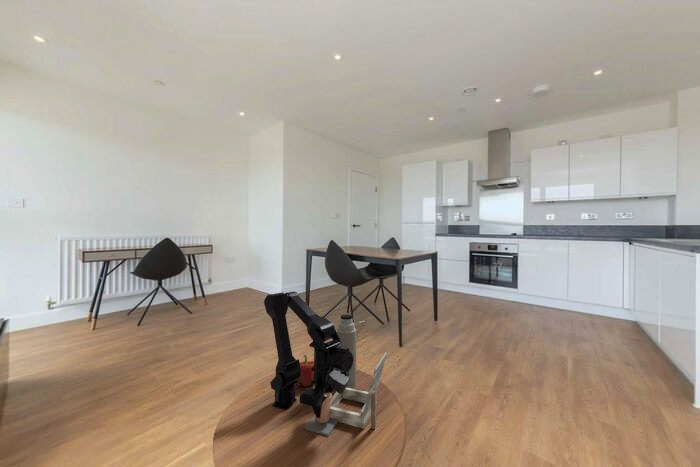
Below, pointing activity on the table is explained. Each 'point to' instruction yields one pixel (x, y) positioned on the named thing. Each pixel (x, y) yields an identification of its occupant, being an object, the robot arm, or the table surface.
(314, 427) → the pad
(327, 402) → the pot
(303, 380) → the vegetable
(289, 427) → the table surface
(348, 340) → the thermos bottle
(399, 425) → the table surface
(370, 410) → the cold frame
